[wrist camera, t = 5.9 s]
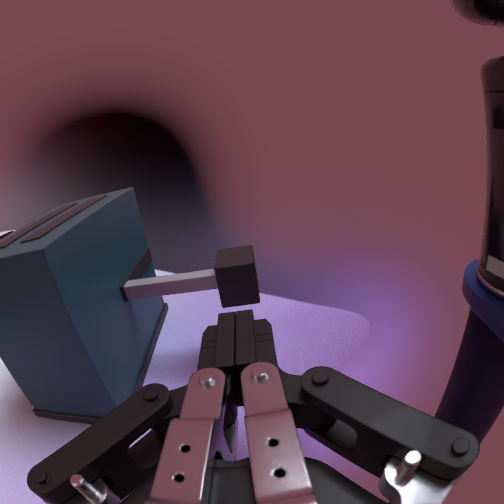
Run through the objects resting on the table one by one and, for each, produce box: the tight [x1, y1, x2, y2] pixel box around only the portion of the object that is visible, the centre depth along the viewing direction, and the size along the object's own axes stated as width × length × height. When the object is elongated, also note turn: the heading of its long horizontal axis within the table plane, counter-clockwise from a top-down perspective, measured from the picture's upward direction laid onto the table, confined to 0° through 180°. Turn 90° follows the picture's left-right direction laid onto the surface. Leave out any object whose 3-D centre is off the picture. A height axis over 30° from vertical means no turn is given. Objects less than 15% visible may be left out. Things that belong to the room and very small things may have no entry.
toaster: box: [0, 187, 168, 424], centre depth 21 cm, size 8×14×12 cm, turn 2°
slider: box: [124, 245, 260, 308], centre depth 21 cm, size 9×3×3 cm, turn 92°
